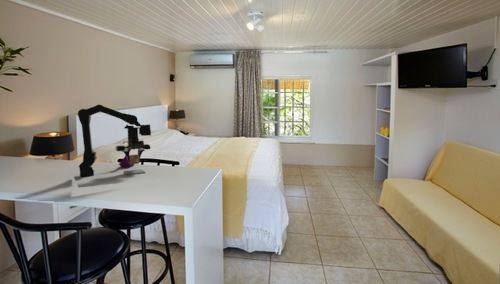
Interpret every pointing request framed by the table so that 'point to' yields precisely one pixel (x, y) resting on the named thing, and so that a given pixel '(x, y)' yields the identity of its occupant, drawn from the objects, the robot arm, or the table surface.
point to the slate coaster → (134, 172)
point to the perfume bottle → (125, 160)
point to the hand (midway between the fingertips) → (133, 161)
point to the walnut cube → (134, 159)
